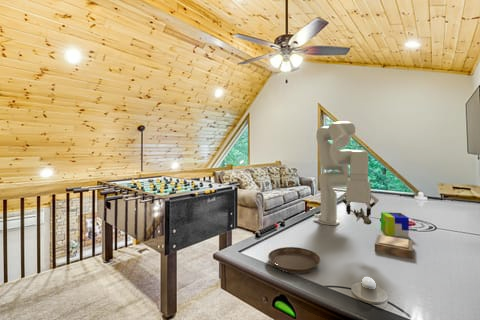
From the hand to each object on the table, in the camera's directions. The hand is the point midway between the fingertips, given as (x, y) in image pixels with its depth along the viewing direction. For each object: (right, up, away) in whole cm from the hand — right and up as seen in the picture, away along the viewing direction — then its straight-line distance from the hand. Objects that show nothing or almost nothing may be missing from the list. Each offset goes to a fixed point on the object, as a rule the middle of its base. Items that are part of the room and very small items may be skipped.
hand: (358, 214), depth 115 cm
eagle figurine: (+1, -3, -2) cm, 3 cm away
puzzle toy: (+29, -15, +20) cm, 39 cm away
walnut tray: (+16, -16, -2) cm, 22 cm away
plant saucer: (-33, -17, -14) cm, 40 cm away
